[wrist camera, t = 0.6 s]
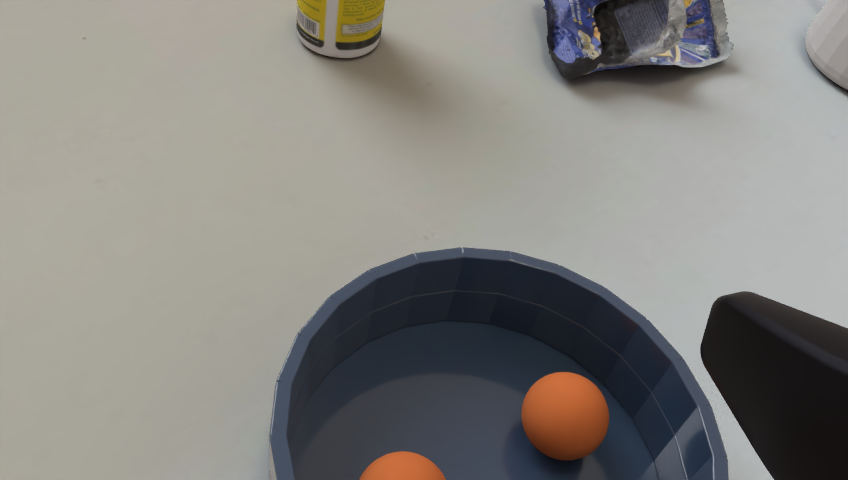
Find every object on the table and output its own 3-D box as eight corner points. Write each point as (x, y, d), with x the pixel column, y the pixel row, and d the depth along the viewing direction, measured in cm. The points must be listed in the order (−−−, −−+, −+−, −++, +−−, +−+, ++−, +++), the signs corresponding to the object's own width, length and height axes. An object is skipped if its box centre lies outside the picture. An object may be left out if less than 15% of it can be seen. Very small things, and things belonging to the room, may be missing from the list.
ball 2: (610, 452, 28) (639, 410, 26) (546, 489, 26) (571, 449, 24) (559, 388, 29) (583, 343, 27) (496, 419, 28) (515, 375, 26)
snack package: (707, 140, 43) (735, 37, 50) (738, 36, 38) (765, -60, 45) (501, 94, 46) (557, 4, 54) (507, -6, 42) (567, -89, 49)
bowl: (755, 566, 26) (824, 512, 23) (405, 829, 20) (432, 807, 17) (517, 277, 34) (544, 205, 30) (206, 404, 27) (198, 330, 24)
